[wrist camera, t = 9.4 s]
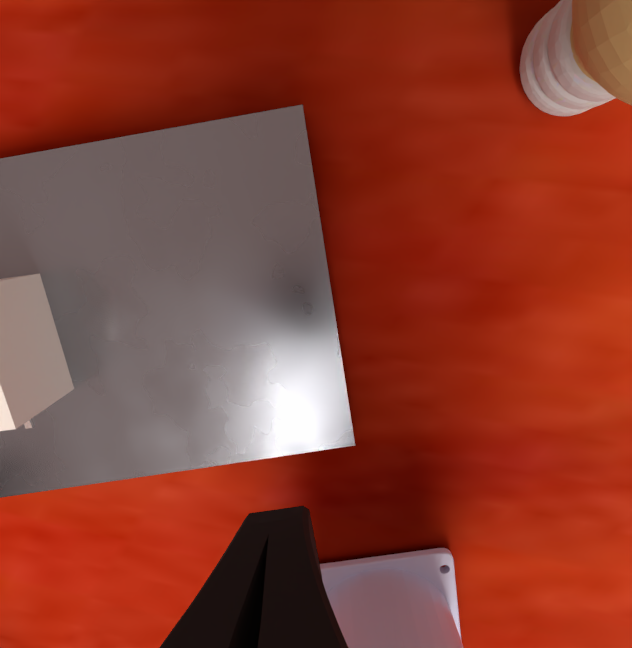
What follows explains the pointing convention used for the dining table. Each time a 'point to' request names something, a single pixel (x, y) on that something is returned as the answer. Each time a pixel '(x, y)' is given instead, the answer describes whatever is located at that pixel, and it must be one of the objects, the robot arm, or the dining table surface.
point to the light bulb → (579, 56)
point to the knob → (28, 352)
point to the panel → (176, 302)
